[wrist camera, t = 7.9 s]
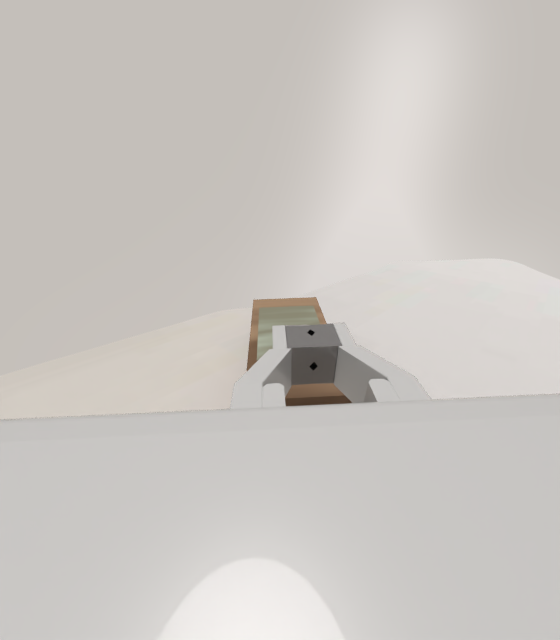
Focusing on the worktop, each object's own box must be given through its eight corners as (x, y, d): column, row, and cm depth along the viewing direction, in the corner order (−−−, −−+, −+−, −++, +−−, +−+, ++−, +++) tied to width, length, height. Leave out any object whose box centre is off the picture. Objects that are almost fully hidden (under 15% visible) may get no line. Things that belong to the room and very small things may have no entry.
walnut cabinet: (356, 392, 13) (316, 295, 23) (243, 398, 13) (253, 297, 23) (346, 439, 15) (313, 331, 25) (249, 444, 15) (256, 334, 25)
